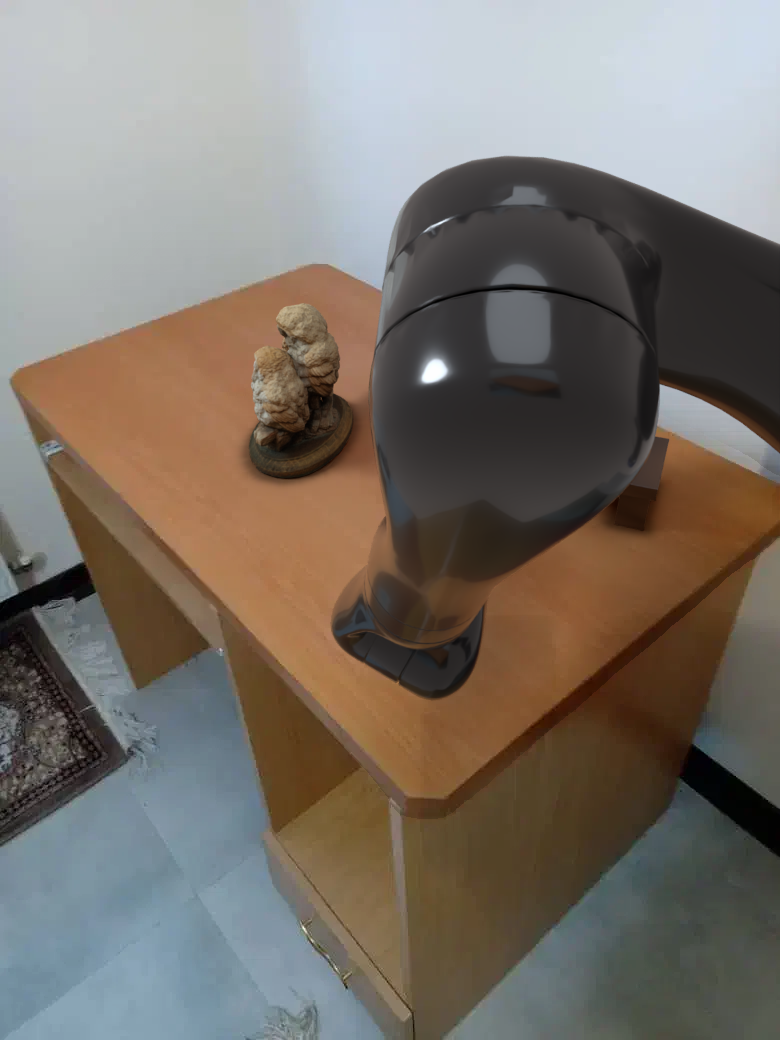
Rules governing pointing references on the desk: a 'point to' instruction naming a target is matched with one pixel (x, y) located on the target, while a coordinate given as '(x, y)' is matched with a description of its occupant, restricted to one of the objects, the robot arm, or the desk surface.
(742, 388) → the robot arm
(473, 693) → the desk surface
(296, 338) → the owl figurine
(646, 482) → the bench
